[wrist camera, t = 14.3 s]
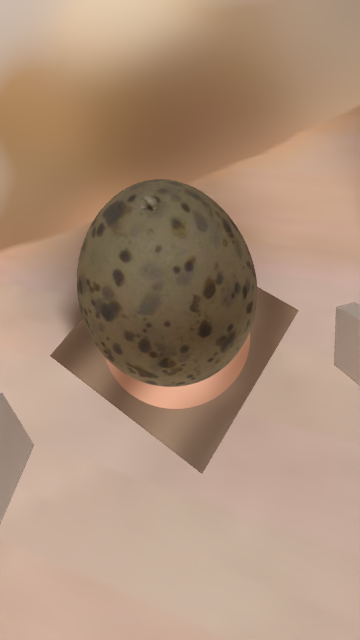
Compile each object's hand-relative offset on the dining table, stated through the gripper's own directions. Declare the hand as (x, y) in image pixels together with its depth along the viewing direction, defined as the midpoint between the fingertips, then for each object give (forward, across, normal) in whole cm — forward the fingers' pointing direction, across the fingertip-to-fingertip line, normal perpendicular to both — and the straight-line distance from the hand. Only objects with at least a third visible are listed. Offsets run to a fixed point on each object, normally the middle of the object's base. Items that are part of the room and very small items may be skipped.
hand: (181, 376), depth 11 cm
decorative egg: (+13, +1, -4) cm, 13 cm away
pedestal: (+19, 0, -10) cm, 21 cm away
